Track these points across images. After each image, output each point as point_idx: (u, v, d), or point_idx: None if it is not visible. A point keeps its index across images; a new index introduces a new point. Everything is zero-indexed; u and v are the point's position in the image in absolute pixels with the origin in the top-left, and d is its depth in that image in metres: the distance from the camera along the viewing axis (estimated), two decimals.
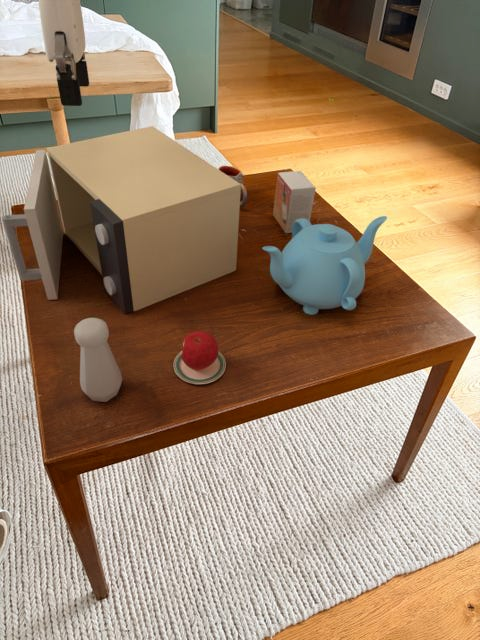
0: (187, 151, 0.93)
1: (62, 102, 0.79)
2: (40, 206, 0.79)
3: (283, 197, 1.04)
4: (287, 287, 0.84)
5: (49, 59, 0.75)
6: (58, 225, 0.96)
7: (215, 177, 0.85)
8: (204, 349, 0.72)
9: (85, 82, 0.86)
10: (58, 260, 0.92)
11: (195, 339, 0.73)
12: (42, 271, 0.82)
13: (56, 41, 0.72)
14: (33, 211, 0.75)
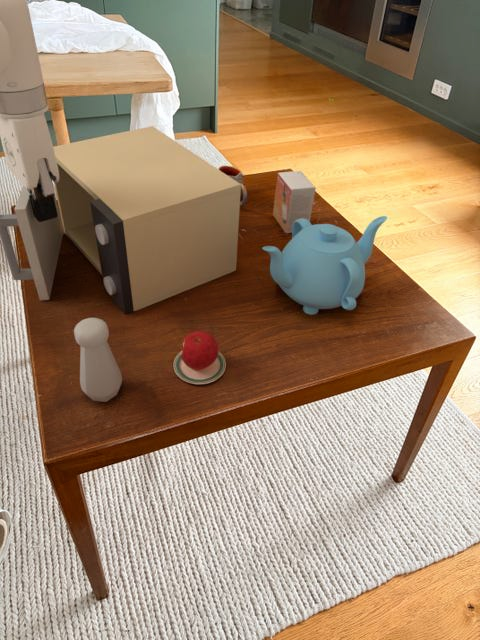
0: (187, 151, 0.93)
1: (38, 219, 0.77)
2: None
3: (283, 197, 1.04)
4: (287, 287, 0.84)
5: (31, 187, 0.70)
6: (57, 225, 0.96)
7: (215, 177, 0.85)
8: (204, 349, 0.72)
9: None
10: (54, 260, 0.92)
11: (195, 339, 0.73)
12: (33, 271, 0.82)
13: (42, 178, 0.70)
14: (24, 212, 0.75)
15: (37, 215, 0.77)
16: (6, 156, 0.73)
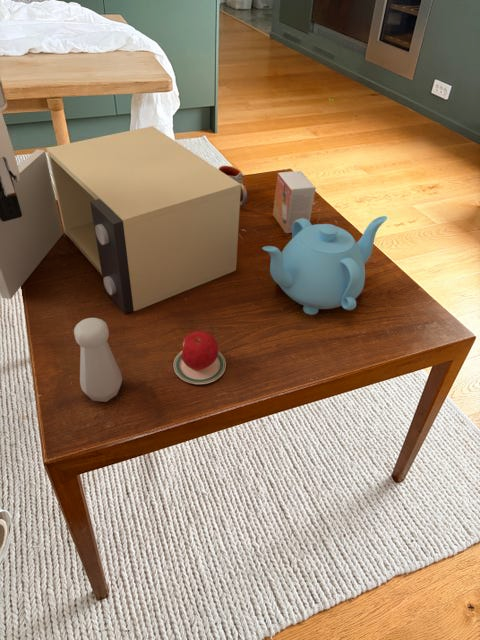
0: (187, 151, 0.93)
1: (2, 219, 0.77)
2: None
3: (283, 197, 1.04)
4: (287, 287, 0.84)
5: None
6: (50, 226, 0.96)
7: (215, 177, 0.85)
8: (204, 349, 0.72)
9: None
10: (33, 260, 0.91)
11: (195, 339, 0.73)
12: None
13: (2, 177, 0.69)
14: None
15: (0, 215, 0.76)
16: None
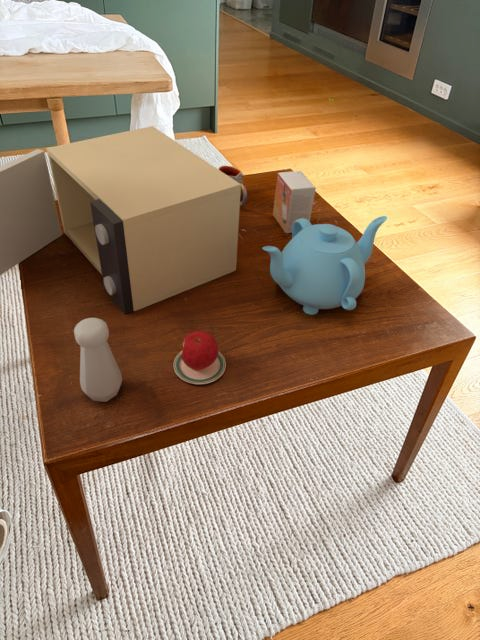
0: (187, 151, 0.93)
1: None
2: None
3: (283, 197, 1.04)
4: (287, 287, 0.84)
5: None
6: (44, 225, 0.96)
7: (215, 177, 0.85)
8: (204, 349, 0.72)
9: None
10: (14, 256, 0.92)
11: (195, 339, 0.73)
12: None
13: None
14: None
15: None
16: None
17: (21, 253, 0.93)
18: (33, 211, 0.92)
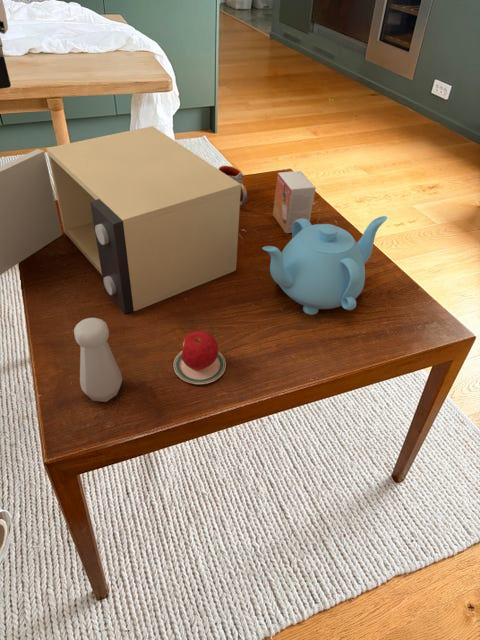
0: (187, 151, 0.93)
1: None
2: None
3: (283, 197, 1.04)
4: (287, 287, 0.84)
5: None
6: (44, 225, 0.96)
7: (215, 177, 0.85)
8: (204, 349, 0.72)
9: (4, 80, 0.69)
10: (14, 256, 0.92)
11: (195, 339, 0.73)
12: None
13: None
14: None
15: None
16: None
17: (21, 253, 0.93)
18: (33, 211, 0.92)
